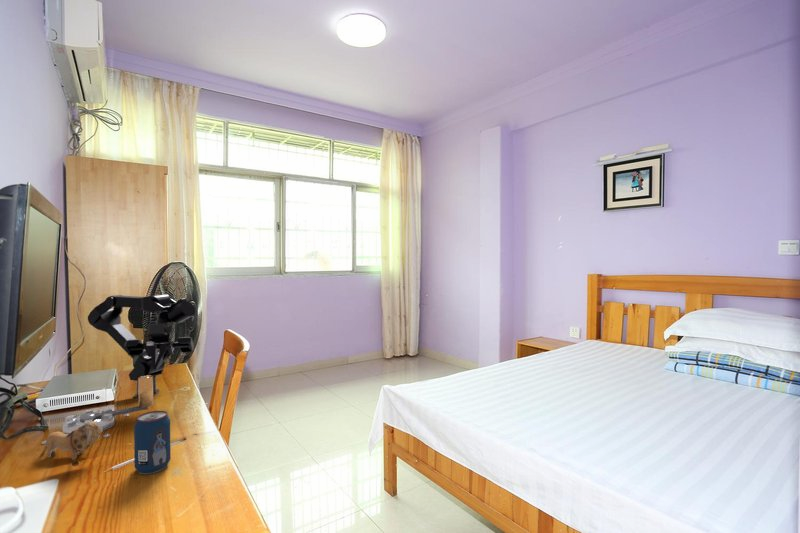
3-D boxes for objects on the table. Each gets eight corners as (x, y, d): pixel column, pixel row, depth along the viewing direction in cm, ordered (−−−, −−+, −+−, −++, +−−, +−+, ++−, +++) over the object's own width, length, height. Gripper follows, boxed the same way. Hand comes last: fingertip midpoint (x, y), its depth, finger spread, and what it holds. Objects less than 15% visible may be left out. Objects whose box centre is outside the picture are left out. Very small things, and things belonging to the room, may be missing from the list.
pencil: (186, 441, 103) (186, 438, 103) (103, 474, 87) (103, 471, 87) (184, 440, 103) (184, 437, 103) (102, 473, 87) (102, 470, 87)
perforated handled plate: (60, 441, 99) (60, 395, 99) (64, 426, 108) (63, 384, 107) (155, 421, 111) (154, 380, 111) (151, 409, 120) (151, 371, 120)
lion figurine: (107, 454, 95) (106, 418, 95) (91, 466, 90) (90, 427, 89) (43, 456, 94) (43, 419, 94) (23, 468, 89) (23, 428, 89)
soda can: (148, 459, 93) (147, 409, 92) (177, 460, 92) (176, 409, 92) (126, 475, 86) (126, 421, 85) (158, 476, 86) (157, 421, 85)
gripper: (126, 314, 124) (112, 357, 114) (191, 312, 129) (184, 353, 119) (135, 334, 132) (122, 376, 121) (196, 332, 137) (189, 372, 127)
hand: (154, 369), depth 122 cm, fingers closed
